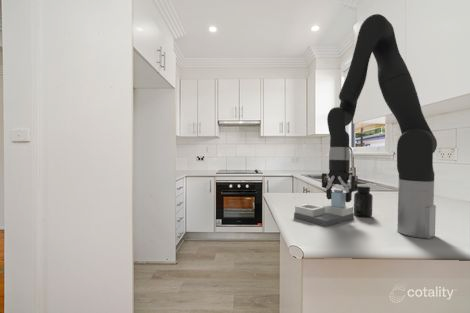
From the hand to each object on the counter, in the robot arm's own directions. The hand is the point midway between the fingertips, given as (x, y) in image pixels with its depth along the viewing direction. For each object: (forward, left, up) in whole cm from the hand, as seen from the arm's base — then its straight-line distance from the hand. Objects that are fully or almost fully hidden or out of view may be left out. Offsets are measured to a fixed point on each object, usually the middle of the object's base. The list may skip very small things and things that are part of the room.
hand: (338, 200), depth 98 cm
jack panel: (+3, +5, -7) cm, 9 cm away
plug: (0, 0, -5) cm, 5 cm away
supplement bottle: (-4, -12, -7) cm, 14 cm away
